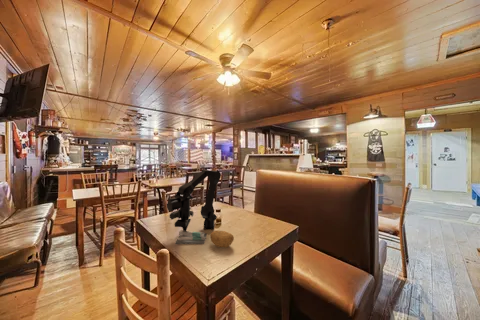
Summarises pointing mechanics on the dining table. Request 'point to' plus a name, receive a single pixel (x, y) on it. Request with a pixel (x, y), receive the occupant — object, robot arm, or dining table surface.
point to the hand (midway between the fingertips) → (184, 232)
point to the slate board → (190, 239)
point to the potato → (221, 238)
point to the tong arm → (191, 233)
